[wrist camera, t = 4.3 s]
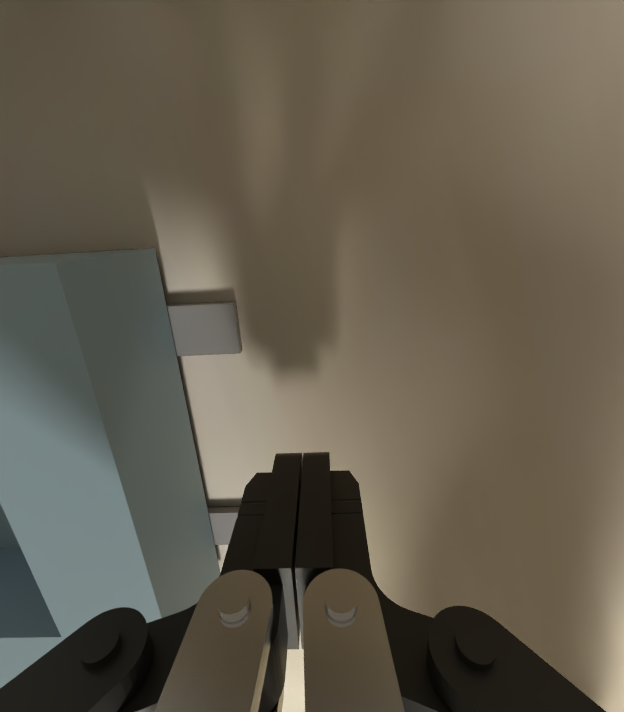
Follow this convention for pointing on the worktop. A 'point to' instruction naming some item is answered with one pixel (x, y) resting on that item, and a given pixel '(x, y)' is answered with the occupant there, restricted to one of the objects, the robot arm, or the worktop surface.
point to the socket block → (92, 452)
